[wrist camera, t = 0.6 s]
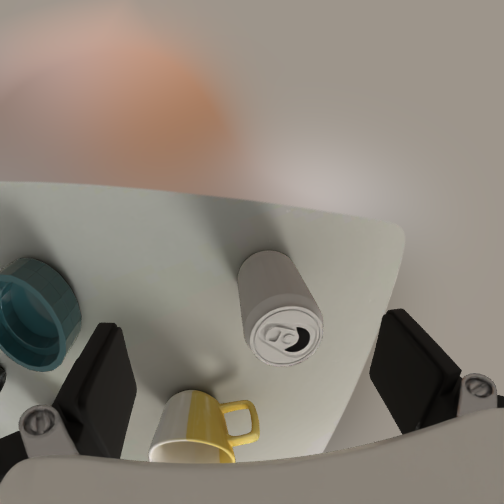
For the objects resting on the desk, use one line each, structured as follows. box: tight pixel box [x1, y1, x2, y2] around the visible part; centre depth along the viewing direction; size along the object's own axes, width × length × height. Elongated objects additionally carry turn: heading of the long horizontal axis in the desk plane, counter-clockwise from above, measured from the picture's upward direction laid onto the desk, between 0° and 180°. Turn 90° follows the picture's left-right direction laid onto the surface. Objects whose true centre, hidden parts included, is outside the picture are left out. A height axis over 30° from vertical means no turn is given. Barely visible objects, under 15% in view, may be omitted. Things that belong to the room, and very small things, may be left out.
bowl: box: [0, 258, 81, 372], centre depth 30 cm, size 13×13×6 cm
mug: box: [148, 390, 260, 464], centre depth 35 cm, size 14×10×10 cm
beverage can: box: [238, 250, 323, 367], centre depth 29 cm, size 6×6×12 cm
